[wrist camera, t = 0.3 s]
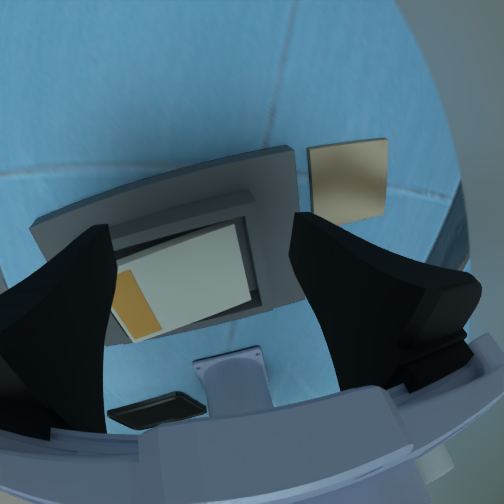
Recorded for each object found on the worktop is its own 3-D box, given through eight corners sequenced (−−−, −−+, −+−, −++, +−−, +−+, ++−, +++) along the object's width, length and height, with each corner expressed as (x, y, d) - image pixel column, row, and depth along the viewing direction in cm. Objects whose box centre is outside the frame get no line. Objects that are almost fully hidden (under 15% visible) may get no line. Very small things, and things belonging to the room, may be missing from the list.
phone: (104, 415, 35) (179, 394, 33) (104, 409, 36) (179, 387, 34) (137, 431, 39) (210, 412, 38) (137, 425, 40) (209, 406, 39)
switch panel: (299, 288, 28) (312, 314, 25) (107, 335, 26) (104, 362, 23) (286, 144, 19) (305, 158, 16) (36, 219, 18) (18, 243, 15)
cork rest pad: (381, 211, 24) (384, 214, 24) (312, 228, 24) (314, 231, 23) (384, 137, 20) (388, 139, 20) (307, 148, 20) (309, 149, 19)
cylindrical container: (373, 397, 53) (416, 488, 33) (389, 380, 49) (438, 478, 29) (396, 390, 55) (439, 473, 35) (412, 372, 51) (460, 461, 31)
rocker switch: (247, 293, 23) (251, 300, 22) (133, 336, 21) (134, 344, 20) (230, 218, 19) (234, 224, 18) (91, 270, 17) (90, 278, 16)
